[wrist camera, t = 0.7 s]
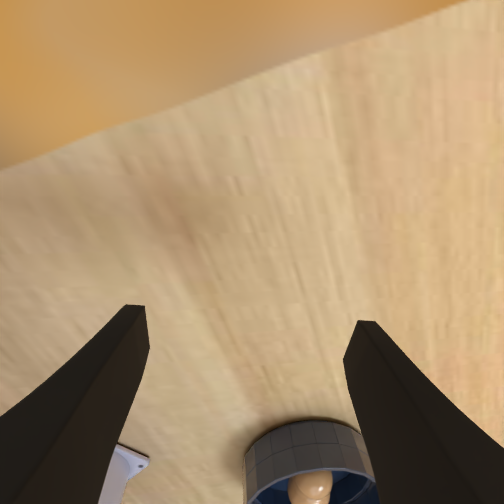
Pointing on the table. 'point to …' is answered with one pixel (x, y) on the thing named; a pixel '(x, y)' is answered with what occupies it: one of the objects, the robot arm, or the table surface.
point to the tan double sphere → (310, 488)
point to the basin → (309, 463)
